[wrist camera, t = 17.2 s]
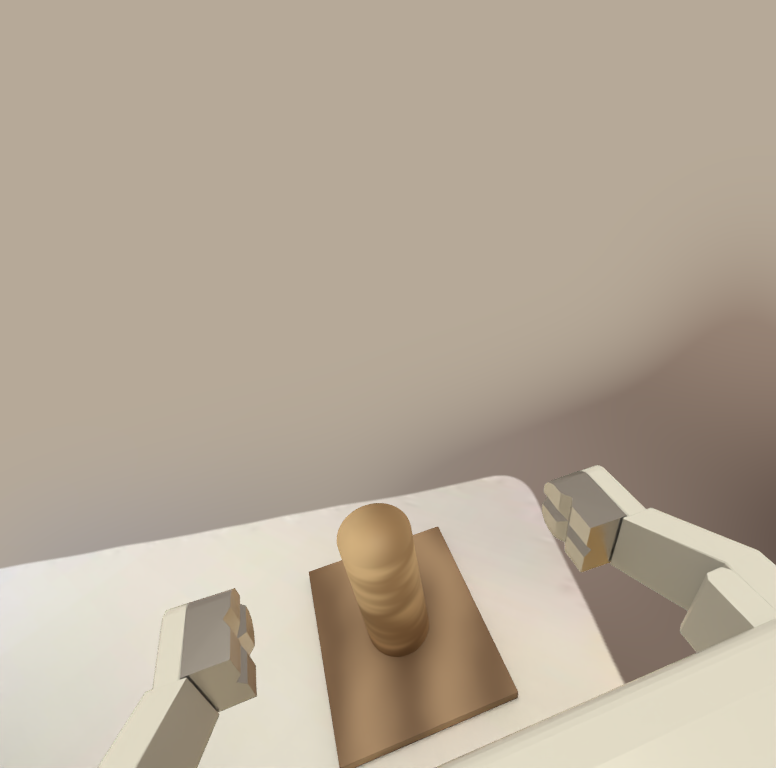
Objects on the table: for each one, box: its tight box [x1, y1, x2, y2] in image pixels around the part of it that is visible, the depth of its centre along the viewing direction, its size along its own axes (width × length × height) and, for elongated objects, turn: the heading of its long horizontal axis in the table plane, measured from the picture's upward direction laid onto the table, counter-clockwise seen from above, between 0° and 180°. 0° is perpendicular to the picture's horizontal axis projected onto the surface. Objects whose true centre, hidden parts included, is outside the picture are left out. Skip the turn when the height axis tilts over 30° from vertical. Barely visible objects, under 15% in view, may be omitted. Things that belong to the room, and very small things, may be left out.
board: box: [309, 527, 518, 768], centre depth 36 cm, size 13×15×1 cm
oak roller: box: [337, 503, 429, 657], centre depth 32 cm, size 5×5×12 cm
